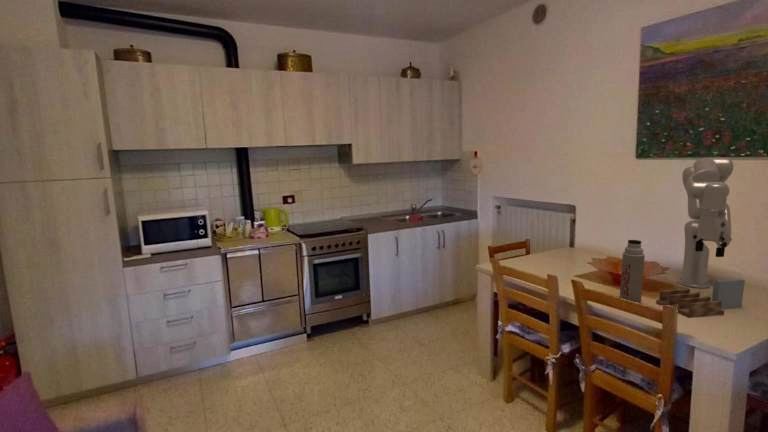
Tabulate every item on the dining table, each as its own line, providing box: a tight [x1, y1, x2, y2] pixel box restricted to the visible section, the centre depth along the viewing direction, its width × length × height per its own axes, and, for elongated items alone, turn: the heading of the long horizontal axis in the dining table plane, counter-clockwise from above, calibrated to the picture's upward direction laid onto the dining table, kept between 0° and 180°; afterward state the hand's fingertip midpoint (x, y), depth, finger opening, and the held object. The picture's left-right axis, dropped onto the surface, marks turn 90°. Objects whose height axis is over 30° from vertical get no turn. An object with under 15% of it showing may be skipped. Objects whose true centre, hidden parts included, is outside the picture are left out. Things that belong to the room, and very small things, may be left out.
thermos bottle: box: [619, 239, 645, 304], centre depth 174 cm, size 8×8×28 cm
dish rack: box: [655, 288, 725, 319], centre depth 169 cm, size 16×16×6 cm
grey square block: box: [711, 277, 746, 310], centre depth 169 cm, size 12×2×12 cm, turn 99°
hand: (709, 253), depth 170 cm, fingers open, 9 cm apart
